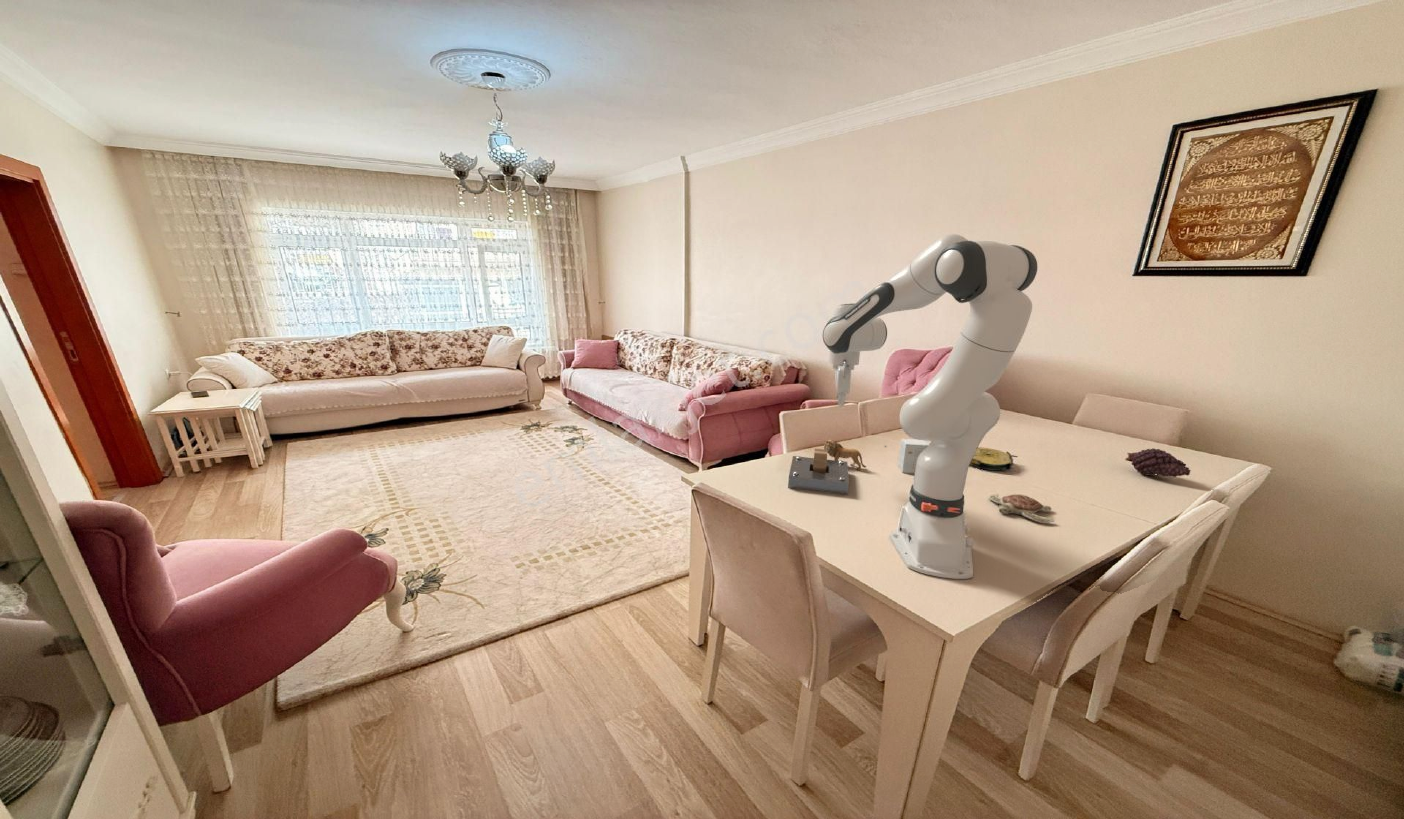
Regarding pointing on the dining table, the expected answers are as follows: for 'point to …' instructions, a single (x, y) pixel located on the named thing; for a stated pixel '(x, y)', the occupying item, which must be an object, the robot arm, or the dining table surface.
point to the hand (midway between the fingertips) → (840, 401)
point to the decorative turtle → (1021, 506)
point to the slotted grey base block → (819, 476)
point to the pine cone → (1157, 463)
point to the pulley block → (992, 460)
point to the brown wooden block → (820, 460)
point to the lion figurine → (843, 453)
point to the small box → (910, 454)
